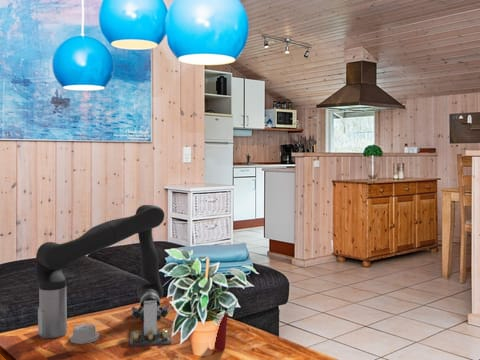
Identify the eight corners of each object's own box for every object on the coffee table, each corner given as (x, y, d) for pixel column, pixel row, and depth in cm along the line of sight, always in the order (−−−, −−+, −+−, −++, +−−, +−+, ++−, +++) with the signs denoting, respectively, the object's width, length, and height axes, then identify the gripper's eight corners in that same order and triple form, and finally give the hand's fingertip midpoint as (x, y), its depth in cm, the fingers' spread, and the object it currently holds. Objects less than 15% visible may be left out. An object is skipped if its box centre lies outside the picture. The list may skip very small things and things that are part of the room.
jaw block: (143, 335, 176) (143, 304, 175) (144, 330, 180) (143, 300, 179) (156, 334, 176) (156, 303, 176) (156, 330, 181) (156, 300, 180)
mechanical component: (84, 332, 185) (63, 341, 176) (84, 320, 185) (63, 329, 176) (105, 337, 180) (84, 346, 171) (105, 325, 180) (84, 334, 171)
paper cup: (230, 344, 174) (230, 304, 173) (224, 353, 166) (225, 311, 165) (208, 342, 175) (208, 302, 175) (202, 350, 168) (202, 309, 167)
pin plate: (129, 346, 171) (129, 334, 171) (130, 333, 183) (130, 323, 183) (171, 343, 174) (171, 332, 174) (169, 331, 186) (169, 321, 185)
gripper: (131, 295, 191) (129, 309, 174) (169, 293, 193) (171, 307, 176) (131, 314, 191) (129, 330, 174) (169, 312, 193) (171, 328, 177)
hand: (150, 318), depth 175 cm, fingers closed on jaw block, 4 cm apart
